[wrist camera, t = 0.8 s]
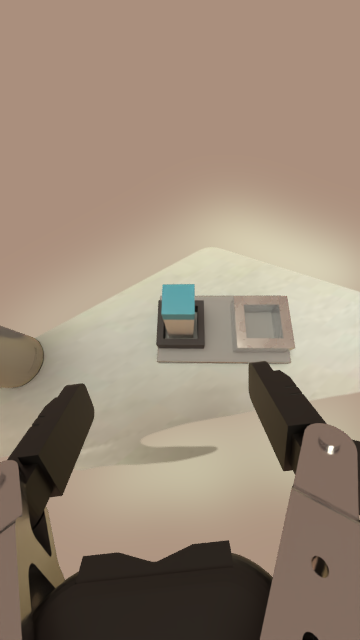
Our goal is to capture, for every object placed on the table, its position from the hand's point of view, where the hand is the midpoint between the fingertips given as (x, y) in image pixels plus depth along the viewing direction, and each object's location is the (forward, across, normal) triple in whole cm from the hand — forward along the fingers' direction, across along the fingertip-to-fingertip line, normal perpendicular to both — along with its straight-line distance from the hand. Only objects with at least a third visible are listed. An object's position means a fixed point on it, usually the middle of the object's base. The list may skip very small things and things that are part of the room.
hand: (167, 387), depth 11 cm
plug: (+26, 0, +9) cm, 27 cm away
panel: (+26, -8, +10) cm, 29 cm away
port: (+25, -13, +11) cm, 30 cm away
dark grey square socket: (+27, 0, +10) cm, 28 cm away
